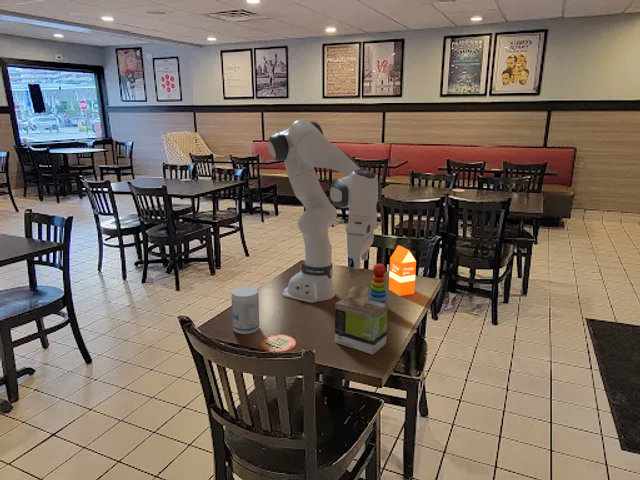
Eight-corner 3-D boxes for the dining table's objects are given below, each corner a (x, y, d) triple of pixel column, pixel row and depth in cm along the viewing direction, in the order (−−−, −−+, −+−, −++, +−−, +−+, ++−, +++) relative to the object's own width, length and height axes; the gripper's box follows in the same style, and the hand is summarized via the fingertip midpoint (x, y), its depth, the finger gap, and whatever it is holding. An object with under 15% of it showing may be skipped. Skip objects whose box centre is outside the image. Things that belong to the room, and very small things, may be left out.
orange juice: (399, 296, 195) (401, 251, 189) (388, 289, 202) (390, 245, 197) (414, 293, 198) (417, 249, 192) (403, 286, 205) (405, 243, 200)
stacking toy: (388, 313, 178) (390, 267, 173) (367, 312, 178) (369, 267, 173) (386, 305, 185) (388, 261, 180) (366, 304, 186) (368, 260, 181)
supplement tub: (227, 328, 165) (225, 290, 161) (249, 320, 171) (247, 284, 167) (242, 338, 158) (241, 298, 154) (265, 329, 164) (263, 291, 161)
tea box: (387, 343, 154) (388, 303, 150) (372, 356, 147) (373, 313, 143) (349, 331, 163) (350, 293, 159) (333, 342, 155) (334, 302, 151)
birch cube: (348, 304, 150) (348, 290, 148) (353, 299, 154) (353, 285, 153) (362, 307, 148) (363, 292, 146) (367, 301, 152) (368, 287, 151)
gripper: (360, 214, 154) (359, 253, 157) (344, 228, 135) (342, 272, 139) (379, 216, 152) (377, 255, 156) (364, 230, 133) (363, 275, 137)
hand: (360, 264), depth 147 cm, fingers open, 8 cm apart
